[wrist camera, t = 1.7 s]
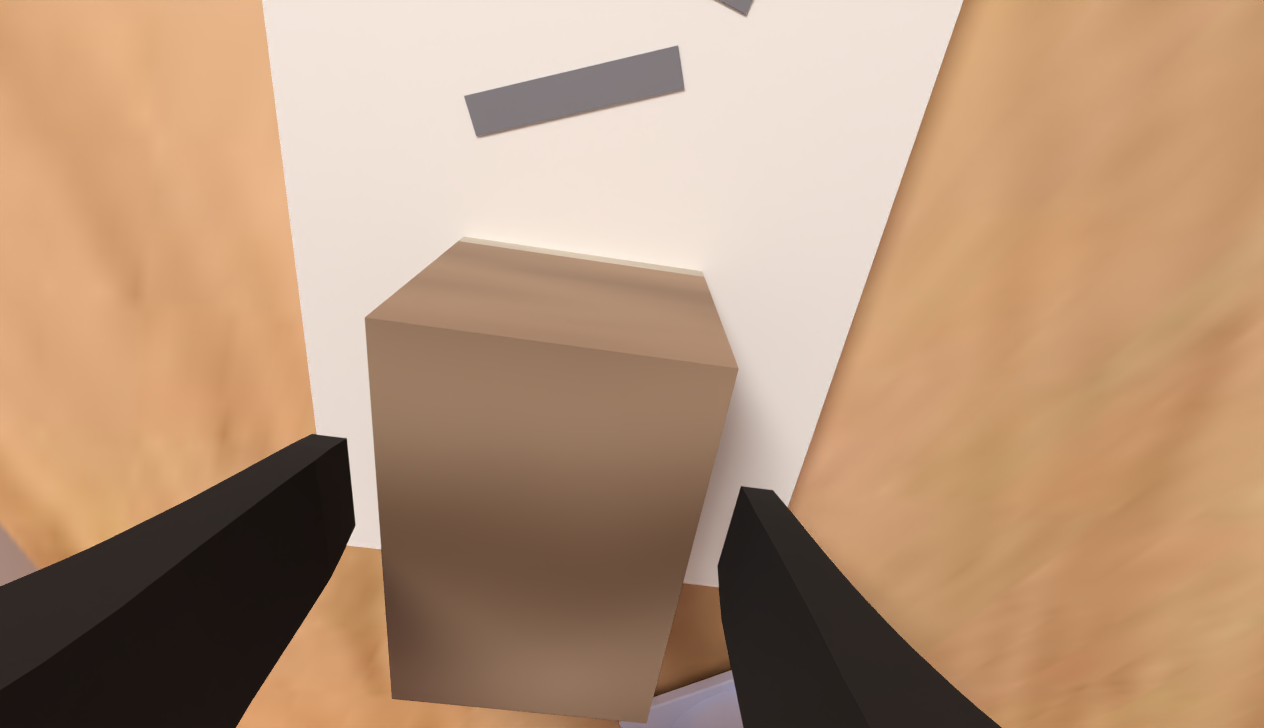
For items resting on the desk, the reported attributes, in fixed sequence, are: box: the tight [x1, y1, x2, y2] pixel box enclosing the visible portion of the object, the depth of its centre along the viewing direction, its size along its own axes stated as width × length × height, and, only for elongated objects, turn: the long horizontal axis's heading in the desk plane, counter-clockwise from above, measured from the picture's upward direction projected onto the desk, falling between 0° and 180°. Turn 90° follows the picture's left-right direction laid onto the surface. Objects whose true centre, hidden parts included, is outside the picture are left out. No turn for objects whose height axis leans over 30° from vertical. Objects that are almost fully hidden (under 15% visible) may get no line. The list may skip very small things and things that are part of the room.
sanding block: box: [365, 237, 739, 724], centre depth 11 cm, size 8×5×5 cm, turn 172°
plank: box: [262, 0, 963, 587], centre depth 10 cm, size 26×12×1 cm, turn 172°
